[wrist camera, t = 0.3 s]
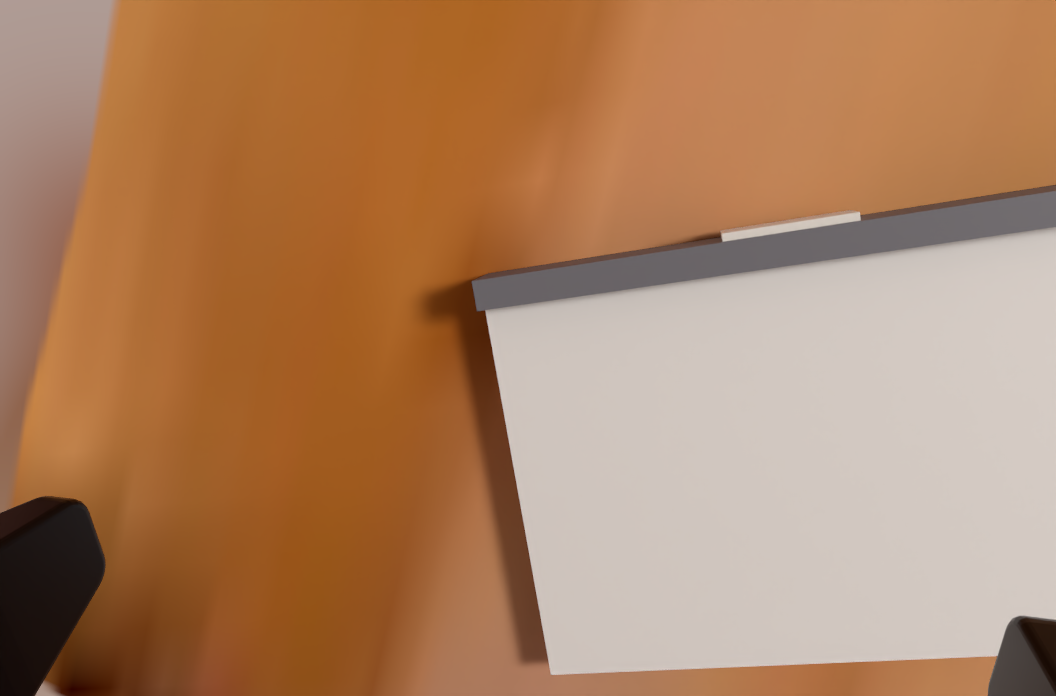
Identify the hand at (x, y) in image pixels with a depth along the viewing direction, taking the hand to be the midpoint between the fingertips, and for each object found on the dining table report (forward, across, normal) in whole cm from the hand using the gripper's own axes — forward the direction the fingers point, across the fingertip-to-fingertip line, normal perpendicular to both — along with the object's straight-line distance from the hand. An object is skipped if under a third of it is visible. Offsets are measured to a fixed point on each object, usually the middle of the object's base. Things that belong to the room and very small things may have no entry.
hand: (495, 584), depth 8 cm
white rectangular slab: (+14, -5, +7) cm, 16 cm away
